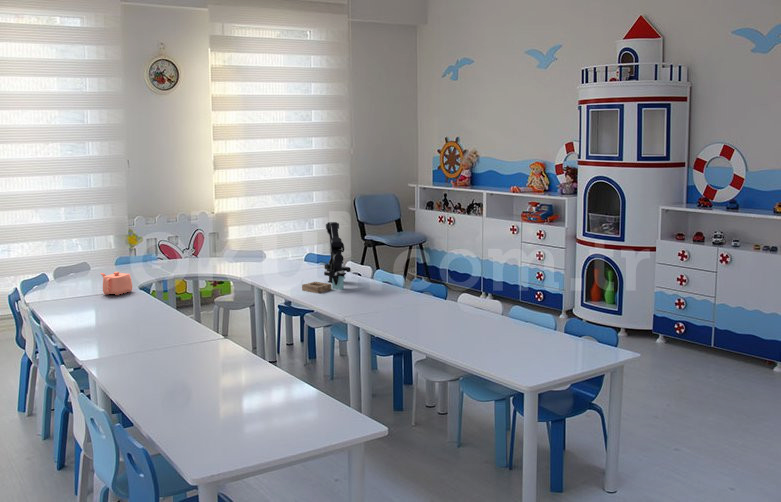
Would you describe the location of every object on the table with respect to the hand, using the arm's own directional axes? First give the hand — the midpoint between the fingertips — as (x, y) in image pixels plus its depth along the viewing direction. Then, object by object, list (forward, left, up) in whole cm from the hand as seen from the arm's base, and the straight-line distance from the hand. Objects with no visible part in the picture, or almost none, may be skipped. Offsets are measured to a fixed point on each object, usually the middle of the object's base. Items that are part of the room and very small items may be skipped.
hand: (337, 284), depth 489 cm
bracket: (0, 0, -3) cm, 3 cm away
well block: (+11, -8, -2) cm, 14 cm away
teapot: (+93, -107, -3) cm, 142 cm away
